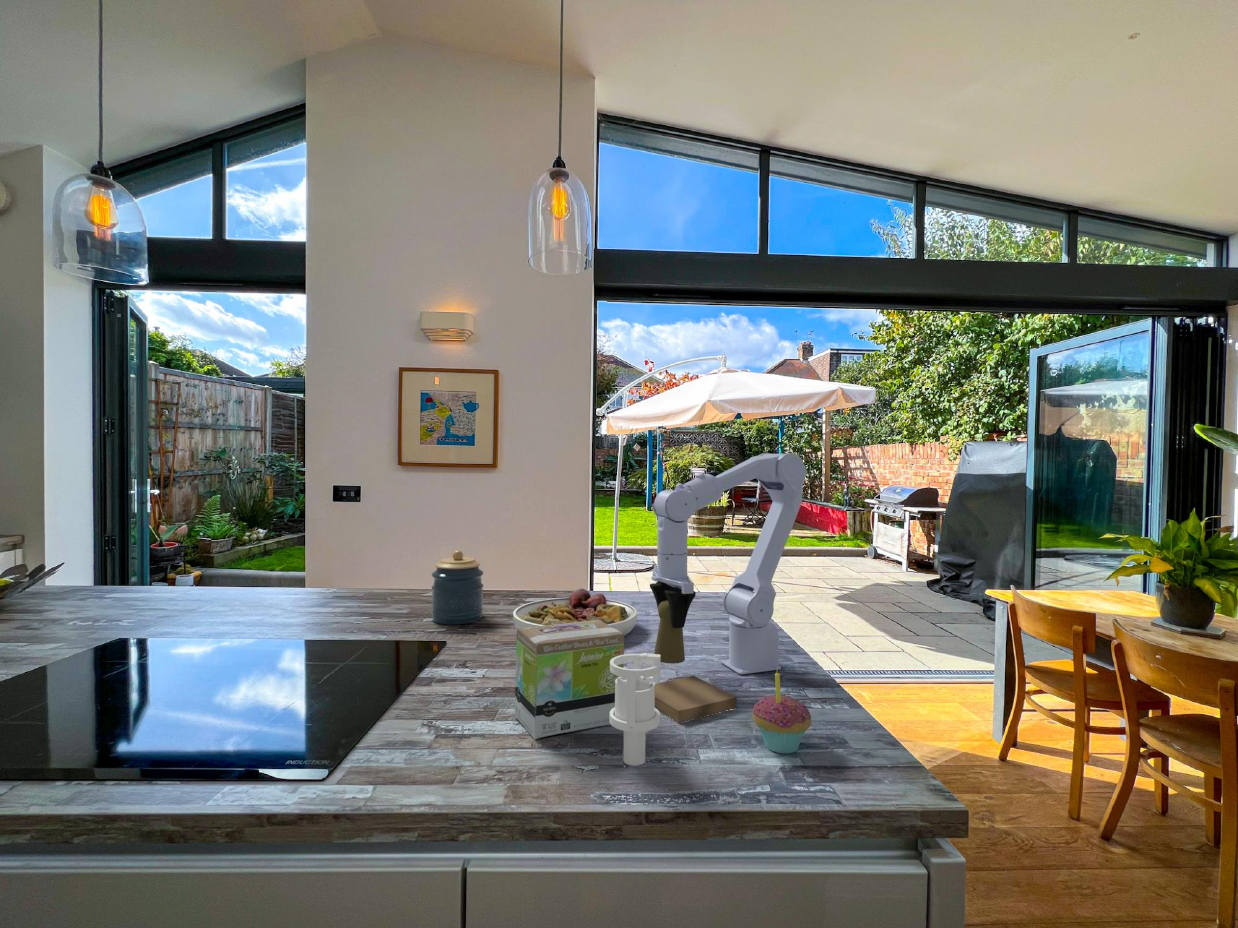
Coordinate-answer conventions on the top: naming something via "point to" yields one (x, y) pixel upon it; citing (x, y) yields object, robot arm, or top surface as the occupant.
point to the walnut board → (691, 699)
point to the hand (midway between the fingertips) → (671, 623)
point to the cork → (669, 637)
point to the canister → (457, 590)
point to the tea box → (565, 676)
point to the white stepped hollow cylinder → (635, 702)
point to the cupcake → (781, 720)
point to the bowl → (576, 611)
